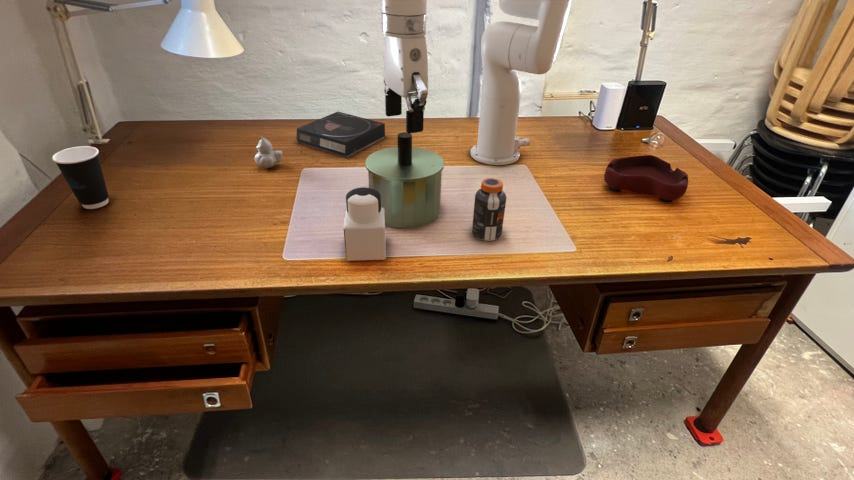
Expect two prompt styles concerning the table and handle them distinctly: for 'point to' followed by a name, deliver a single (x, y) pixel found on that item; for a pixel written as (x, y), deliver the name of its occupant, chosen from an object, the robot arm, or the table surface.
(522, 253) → the table surface
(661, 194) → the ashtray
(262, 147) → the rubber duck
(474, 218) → the pill bottle
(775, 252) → the table surface
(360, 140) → the portable cd player
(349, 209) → the medicine bottle
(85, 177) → the dixie cup
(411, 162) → the lid
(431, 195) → the tin
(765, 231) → the table surface
